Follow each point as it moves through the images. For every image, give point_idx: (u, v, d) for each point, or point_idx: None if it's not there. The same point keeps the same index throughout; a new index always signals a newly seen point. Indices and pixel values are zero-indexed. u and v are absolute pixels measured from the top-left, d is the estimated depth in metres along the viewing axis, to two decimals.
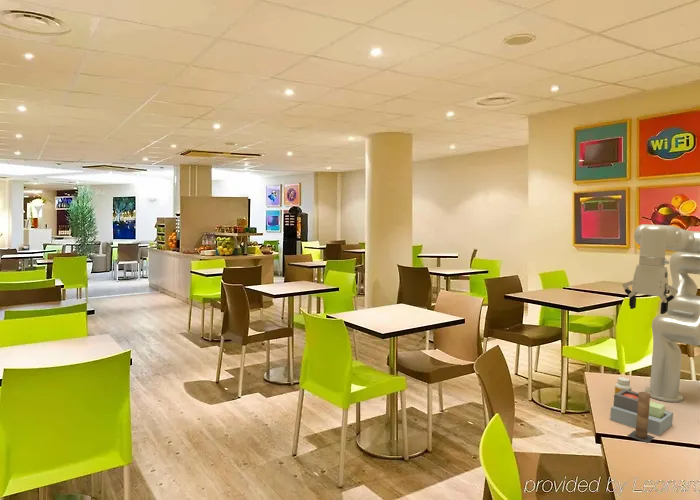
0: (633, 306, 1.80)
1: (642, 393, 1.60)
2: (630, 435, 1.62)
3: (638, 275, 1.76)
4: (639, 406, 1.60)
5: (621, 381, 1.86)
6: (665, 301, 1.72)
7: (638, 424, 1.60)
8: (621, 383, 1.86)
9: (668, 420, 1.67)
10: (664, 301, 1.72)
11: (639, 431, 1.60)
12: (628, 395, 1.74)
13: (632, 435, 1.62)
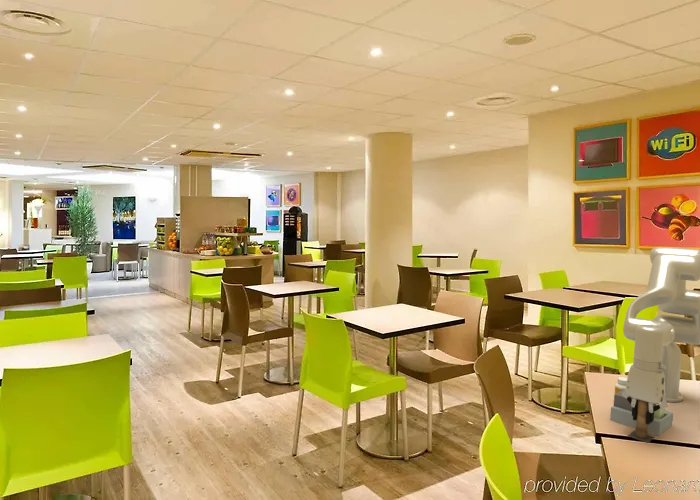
0: (636, 417, 1.61)
1: None
2: (630, 435, 1.62)
3: (632, 378, 1.60)
4: (639, 406, 1.60)
5: (621, 381, 1.86)
6: (651, 411, 1.57)
7: (638, 424, 1.60)
8: (621, 383, 1.86)
9: (668, 420, 1.67)
10: (650, 411, 1.58)
11: (639, 431, 1.60)
12: None
13: (632, 435, 1.62)
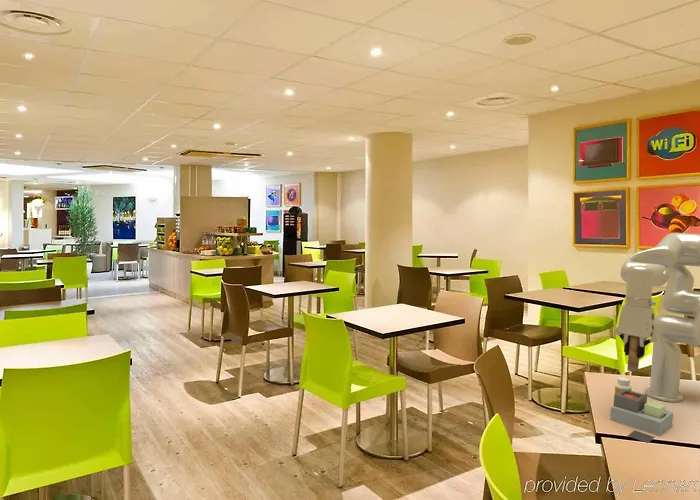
0: (628, 352, 1.73)
1: None
2: (630, 435, 1.62)
3: (624, 316, 1.71)
4: (631, 342, 1.71)
5: (621, 381, 1.86)
6: (641, 345, 1.69)
7: (630, 359, 1.71)
8: (621, 383, 1.86)
9: (668, 420, 1.67)
10: (641, 345, 1.69)
11: (630, 365, 1.71)
12: (628, 395, 1.74)
13: (632, 435, 1.62)
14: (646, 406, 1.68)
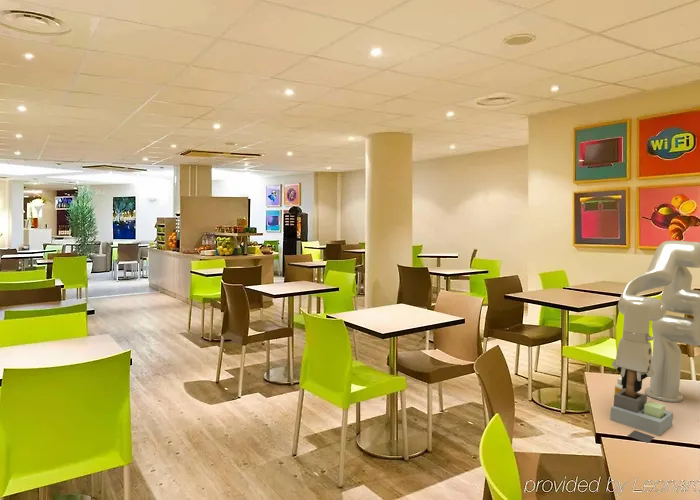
0: (625, 386, 1.74)
1: None
2: (630, 435, 1.62)
3: (622, 350, 1.72)
4: (628, 375, 1.72)
5: (621, 381, 1.86)
6: (638, 379, 1.70)
7: (627, 392, 1.73)
8: None
9: (668, 420, 1.67)
10: (638, 379, 1.70)
11: None
12: None
13: (632, 435, 1.62)
14: (646, 406, 1.68)
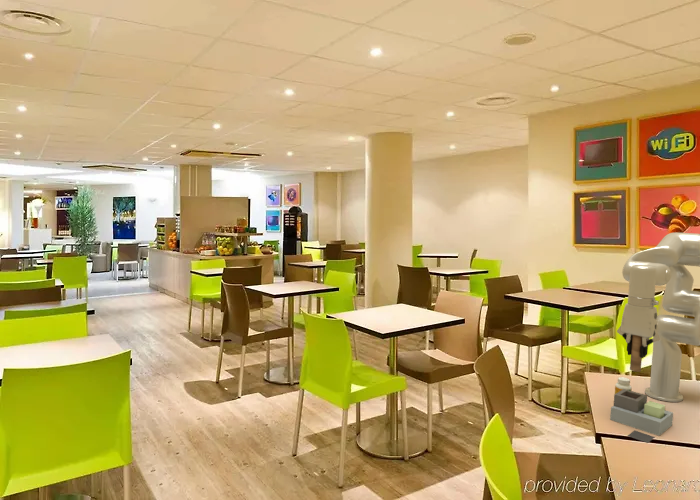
0: None
1: None
2: (630, 435, 1.62)
3: (627, 315, 1.71)
4: (633, 341, 1.70)
5: (621, 381, 1.86)
6: (644, 345, 1.68)
7: (632, 358, 1.71)
8: (621, 383, 1.86)
9: (668, 420, 1.67)
10: (643, 345, 1.68)
11: (633, 365, 1.71)
12: None
13: (632, 435, 1.62)
14: (646, 406, 1.68)
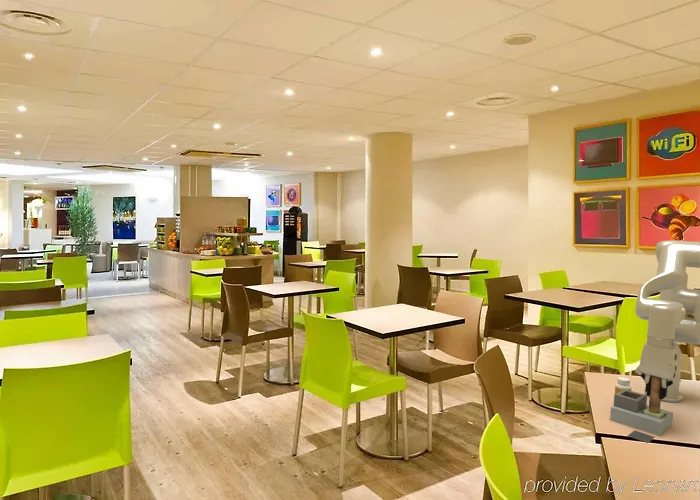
0: None
1: None
2: (630, 435, 1.62)
3: (646, 355, 1.67)
4: (652, 382, 1.66)
5: (621, 381, 1.86)
6: (664, 386, 1.64)
7: (651, 399, 1.67)
8: (621, 383, 1.86)
9: (668, 420, 1.67)
10: (663, 386, 1.64)
11: (652, 406, 1.67)
12: None
13: (632, 435, 1.62)
14: (645, 412, 1.68)
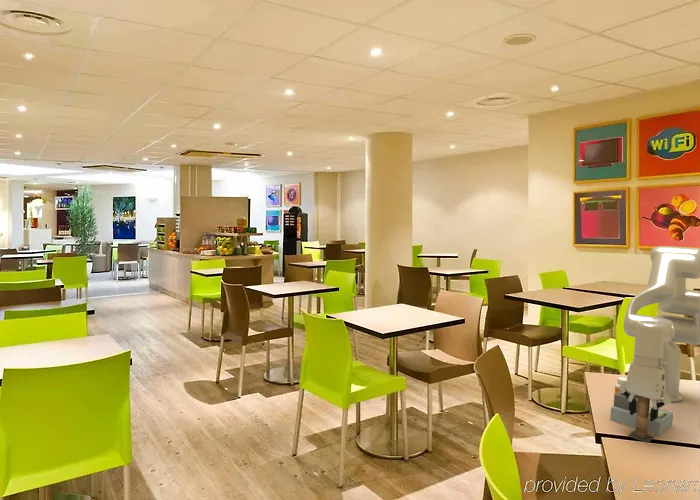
0: (633, 412, 1.62)
1: None
2: (630, 435, 1.62)
3: (633, 375, 1.60)
4: (639, 406, 1.60)
5: (621, 381, 1.86)
6: (655, 408, 1.57)
7: (638, 424, 1.60)
8: (621, 383, 1.86)
9: (668, 420, 1.67)
10: (654, 408, 1.57)
11: (639, 431, 1.60)
12: None
13: (632, 435, 1.62)
14: None
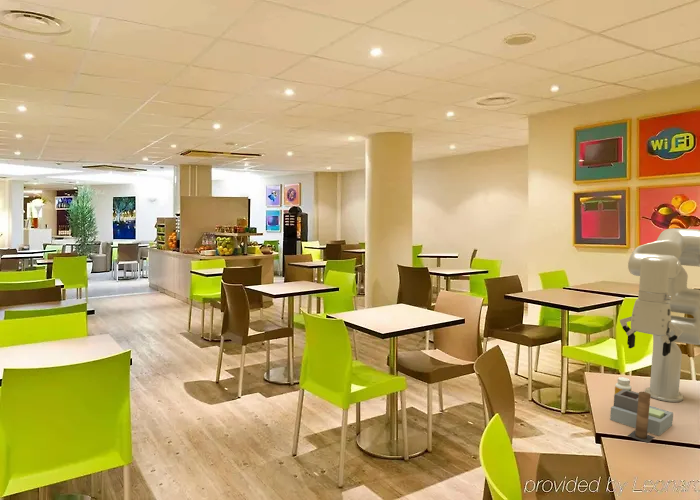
0: (632, 345, 1.61)
1: (642, 393, 1.60)
2: (630, 435, 1.62)
3: (638, 312, 1.58)
4: (639, 406, 1.60)
5: (621, 381, 1.86)
6: (668, 342, 1.53)
7: (638, 424, 1.60)
8: (621, 383, 1.86)
9: (668, 420, 1.67)
10: (666, 342, 1.53)
11: (639, 431, 1.60)
12: None
13: (632, 435, 1.62)
14: None
